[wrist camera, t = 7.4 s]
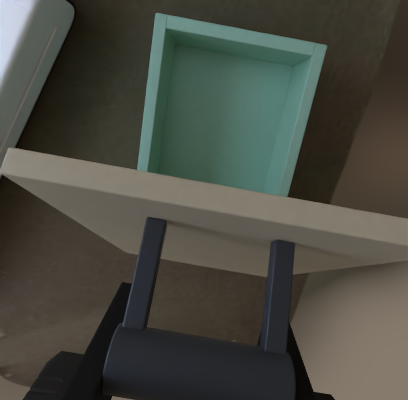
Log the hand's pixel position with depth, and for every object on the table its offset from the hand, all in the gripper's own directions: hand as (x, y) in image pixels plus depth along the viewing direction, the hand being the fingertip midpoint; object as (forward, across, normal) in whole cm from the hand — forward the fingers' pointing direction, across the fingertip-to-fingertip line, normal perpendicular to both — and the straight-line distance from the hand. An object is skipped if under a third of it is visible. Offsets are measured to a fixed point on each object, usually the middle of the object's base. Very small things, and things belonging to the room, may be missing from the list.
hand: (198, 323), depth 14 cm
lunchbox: (+21, 0, +5) cm, 21 cm away
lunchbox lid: (+5, 0, +2) cm, 6 cm away
